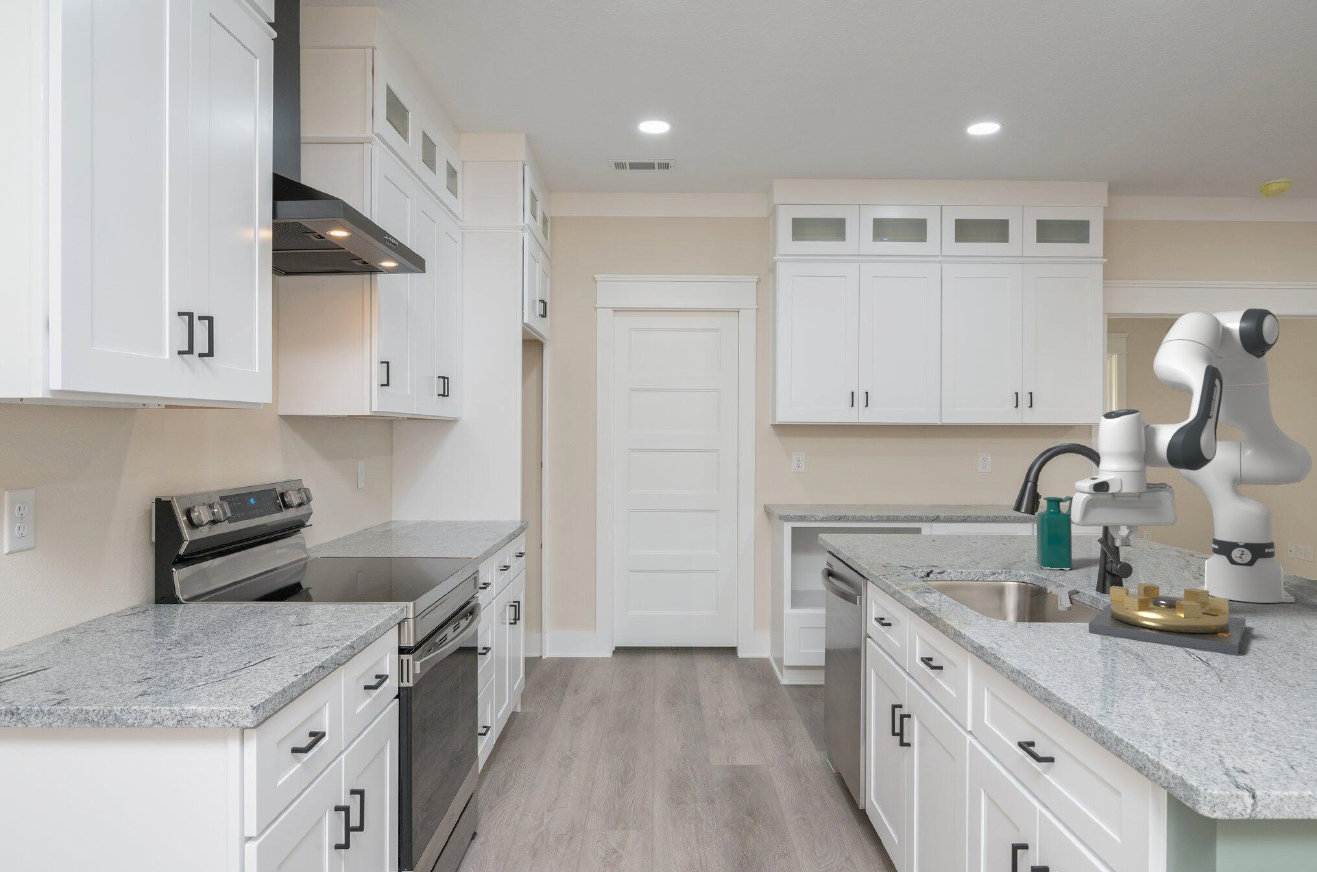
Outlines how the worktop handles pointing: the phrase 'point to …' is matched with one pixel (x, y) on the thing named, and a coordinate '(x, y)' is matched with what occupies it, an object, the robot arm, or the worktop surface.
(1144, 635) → the base plate
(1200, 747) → the worktop surface
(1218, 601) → the ring nut
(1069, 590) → the adjustable wrench
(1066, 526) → the pitcher
